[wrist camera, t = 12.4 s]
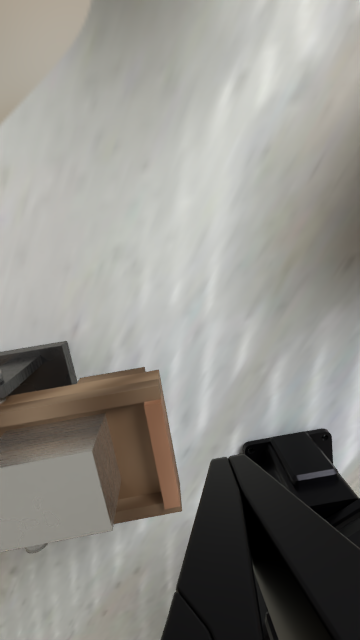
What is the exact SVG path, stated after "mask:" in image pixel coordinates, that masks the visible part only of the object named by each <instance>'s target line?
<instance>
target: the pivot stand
mask: <svg viewBox="0 0 360 640" xmlns="http://www.w3.org/2000/svg"><path fill="white" fill-rule="evenodd" d="M74 384H77V379H76V375H75V371H74V367H73V363H72V359H71V355H70V351H69V347H68V343H67V341H64V342H58V343H52V344H46V345H40V346H34V347H28V348H22V349H16V350H10V351H4V352H0V398H3V397H7V396H11V395H16V394H22V393H28V392H34V391H39V390H45V389H51V388H57V387H63V386H68V385H74ZM47 544H48V543H45V544H40V545H35V546H30V547H25V549H26V551H27V552H28V553H35V552H38V551H40V550H42V549H43V548H44V547H45V546H46V545H47Z"/></svg>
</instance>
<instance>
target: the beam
mask: <svg viewBox="0 0 360 640" xmlns="http://www.w3.org/2000/svg"><path fill="white" fill-rule="evenodd" d="M103 413H105V414H106V419H107V423H108V427H109V431H110V435H111V439H112V444H113V448H114V452H115V456H116V460H117V464H118V469H119V473H120V477H121V484H120V490H119V496H118V502H117V507H116V513H115V519H114V524H116V523H122V522H127V521H132V520H138V519H143V518H148V517H154V516H159V515H164V514H170V513H175V512H180V511H182V505H181V493H180V482H179V477H178V471H177V466H176V461H175V455H174V450H173V444H172V439H171V434H170V428H169V423H168V417H167V412H166V406H165V401H164V396H163V390H162V385H161V379H160V374H159V370H155V371H149V372H145V367H142V368H136V369H130V370H125V371H119V372H113V373H107V374H101V375H96V376H90V377H84V378H80V379H79V381H78V383H77V384H74V385H68V386H63V387H57V388H51V389H45V390H39V391H34V392H28V393H22V394H16V395H11V396H7V397H3V398H0V437H1V436H2V435H3V434H4V433H5V431H8V430H14V429H20V428H25V427H31V426H36V425H42V424H47V423H53V422H59V421H64V420H70V419H75V418H81V417H86V416H92V415H97V414H103Z"/></svg>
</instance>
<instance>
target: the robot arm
mask: <svg viewBox="0 0 360 640" xmlns="http://www.w3.org/2000/svg"><path fill="white" fill-rule="evenodd" d="M323 435H325V436H324V437H323V438H322V436H323ZM249 448H253V449H252V450H248V449H249ZM243 451H244V454H239V455H233V456H230V457H229V458H227V457H222V458H216V459H212V460H211V463H210V466H209V470H208V474H207V477H206V481H205V484H204V488H203V492H202V495H201V499H200V503H199V506H198V510H197V514H196V517H195V521H194V524H193V528H192V532H191V535H190V539H189V543H188V546H187V550H186V553H185V557H184V561H183V564H182V568H181V572H180V575H179V579H178V582H177V586H176V592H175V593H174V596H173V600H172V603H171V607H170V611H169V614H168V618H167V621H166V624H165V627H164V631H163V634H162V637H161V640H360V498H359V497H358V496H357V495H356V494H355V493H354V491H353V490H352V489H351V488H350V486H349V485H348V484H347V483H346V481H345V480H344V479H343V478H342V476H341V475H340V474H339V473H338V471H337V469H336V468H335V466H334V465H333V455H332V436H331V434H330V433H329V432H328V431H327V430H326V429H317V430H312V431H306V432H299V433H293V434H287V435H282V436H276V437H272V438H266V439H261V440H255V441H249V442H247V443H245V444H244V446H243Z"/></svg>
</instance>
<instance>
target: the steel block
mask: <svg viewBox="0 0 360 640" xmlns="http://www.w3.org/2000/svg"><path fill="white" fill-rule="evenodd" d="M120 484H121V477H120V473H119V469H118V464H117V460H116V456H115V452H114V448H113V444H112V439H111V435H110V431H109V427H108V423H107V419H106V414H105V413H103V414H97V415H92V416H86V417H81V418H75V419H70V420H64V421H59V422H53V423H47V424H42V425H36V426H31V427H25V428H20V429H14V430H8V431H5V433H4V434H3V435H2V436H1V437H0V552H4V551H9V550H14V549H19V548H25V547H30V546H35V545H40V544H45V543H51V542H56V541H61V540H66V539H71V538H77V537H82V536H87V535H92V534H98V533H103V532H108V531H113V525H114V519H115V513H116V507H117V502H118V496H119V490H120Z"/></svg>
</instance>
